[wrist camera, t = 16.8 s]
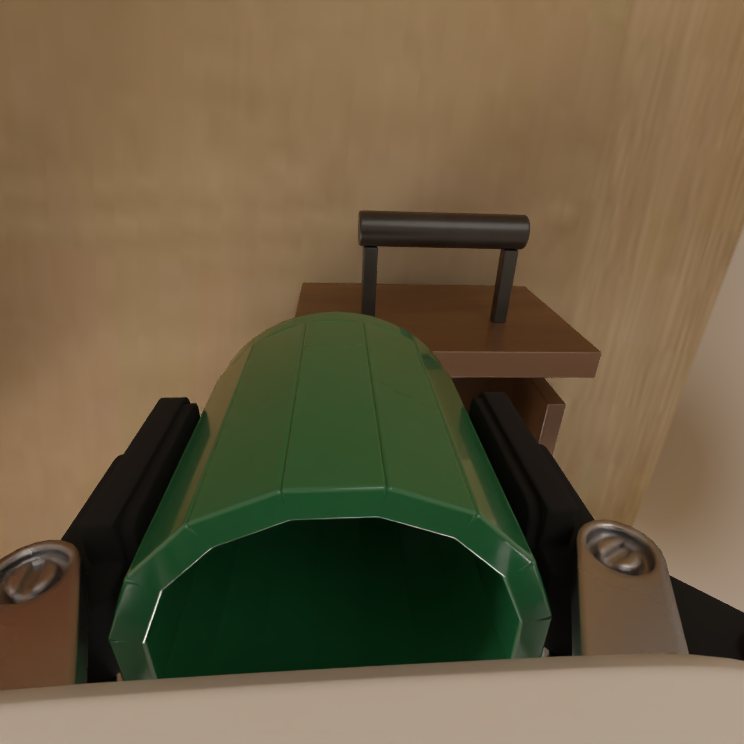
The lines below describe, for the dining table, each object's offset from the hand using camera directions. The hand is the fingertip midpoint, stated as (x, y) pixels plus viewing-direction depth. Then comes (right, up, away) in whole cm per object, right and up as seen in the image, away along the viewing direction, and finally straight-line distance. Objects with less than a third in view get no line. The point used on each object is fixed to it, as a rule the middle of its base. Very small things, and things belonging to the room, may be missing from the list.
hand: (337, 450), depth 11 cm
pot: (0, +1, +1) cm, 1 cm away
